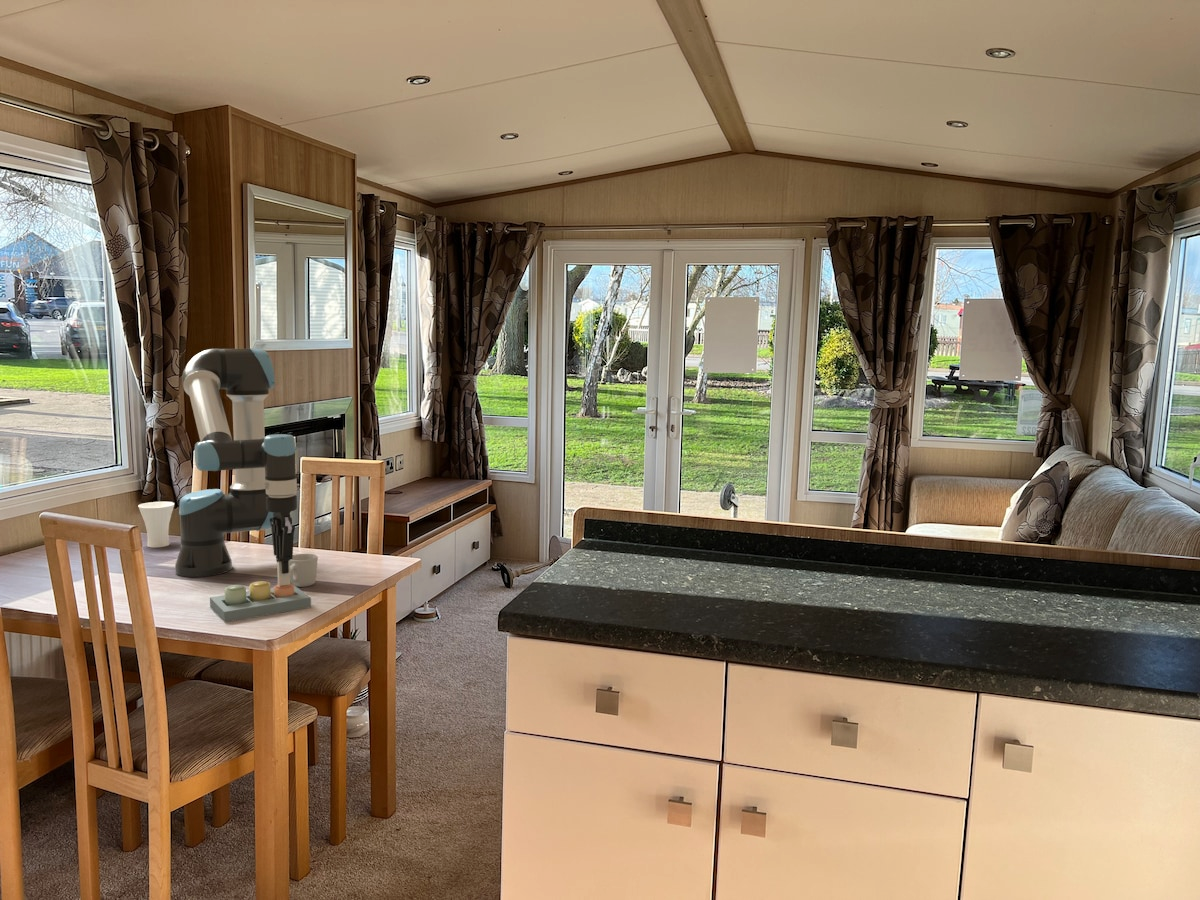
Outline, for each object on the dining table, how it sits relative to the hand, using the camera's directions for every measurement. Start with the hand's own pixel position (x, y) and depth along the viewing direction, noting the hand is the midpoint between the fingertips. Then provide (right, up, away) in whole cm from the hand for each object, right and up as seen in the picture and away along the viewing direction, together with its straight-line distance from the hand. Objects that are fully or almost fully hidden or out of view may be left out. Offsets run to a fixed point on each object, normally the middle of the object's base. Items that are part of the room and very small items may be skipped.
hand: (283, 584), depth 226 cm
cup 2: (-1, -3, +16) cm, 16 cm away
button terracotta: (0, -4, +1) cm, 4 cm away
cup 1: (-62, +4, +58) cm, 85 cm away
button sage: (-10, -4, -7) cm, 12 cm away
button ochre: (-5, -3, -3) cm, 7 cm away
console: (-5, -5, -3) cm, 8 cm away
